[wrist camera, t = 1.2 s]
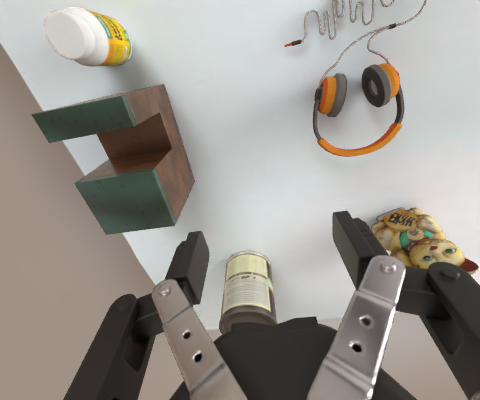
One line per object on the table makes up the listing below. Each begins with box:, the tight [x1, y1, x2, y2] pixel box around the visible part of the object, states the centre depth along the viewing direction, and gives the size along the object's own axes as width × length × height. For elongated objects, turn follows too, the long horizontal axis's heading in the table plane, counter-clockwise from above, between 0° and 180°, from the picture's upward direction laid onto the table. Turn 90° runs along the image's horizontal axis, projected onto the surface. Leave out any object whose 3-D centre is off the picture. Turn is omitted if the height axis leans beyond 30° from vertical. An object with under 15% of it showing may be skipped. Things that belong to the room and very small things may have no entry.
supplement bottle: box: [44, 7, 132, 66], centre depth 27 cm, size 5×5×10 cm
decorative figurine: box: [371, 208, 479, 275], centre depth 38 cm, size 10×8×15 cm
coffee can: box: [219, 251, 277, 334], centre depth 46 cm, size 10×10×14 cm
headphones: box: [285, 0, 427, 157], centre depth 30 cm, size 17×5×20 cm
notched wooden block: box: [32, 84, 195, 235], centre depth 32 cm, size 16×10×13 cm, turn 10°
